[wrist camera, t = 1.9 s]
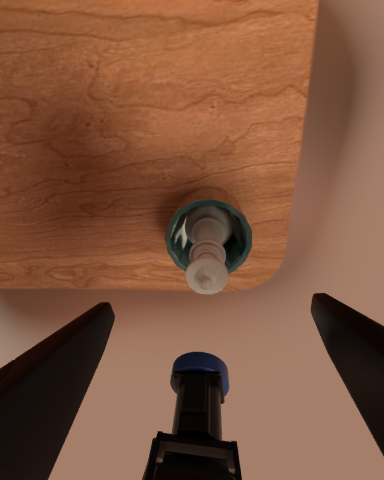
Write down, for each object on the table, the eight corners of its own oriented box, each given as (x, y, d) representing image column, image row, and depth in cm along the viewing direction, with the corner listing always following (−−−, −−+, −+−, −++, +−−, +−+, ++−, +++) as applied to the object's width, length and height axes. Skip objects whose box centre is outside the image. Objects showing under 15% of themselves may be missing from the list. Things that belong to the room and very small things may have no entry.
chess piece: (234, 239, 19) (254, 317, 10) (191, 245, 20) (173, 323, 11) (228, 195, 18) (247, 242, 8) (181, 204, 18) (152, 255, 9)
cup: (243, 247, 20) (252, 275, 15) (181, 252, 21) (173, 280, 16) (241, 183, 17) (251, 194, 13) (171, 191, 18) (158, 205, 14)
